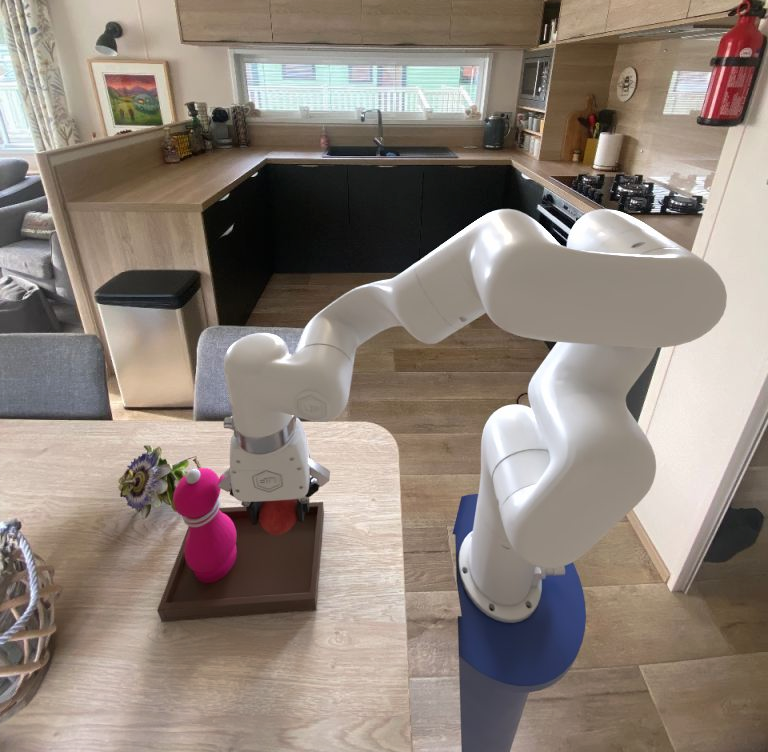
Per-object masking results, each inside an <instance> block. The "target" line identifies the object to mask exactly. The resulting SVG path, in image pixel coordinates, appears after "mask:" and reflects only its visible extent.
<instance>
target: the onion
mask: <svg viewBox="0 0 768 752" xmlns="http://www.w3.org/2000/svg"><path fill="white" fill-rule="evenodd" d="M296 504H297V499H290V500H275V501H261V503H260V506H259V522H260V524H261V525H262V527H263V529H264V530H265V531H267V532H268V533H270V534H275V535H279V534H283V533H285V532H287V531H288V530H290V529H291V527H292V526H293V525H294V524H295V522H296V521H297V518H298V516H297V507H296Z"/></svg>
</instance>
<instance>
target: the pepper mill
mask: <svg viewBox="0 0 768 752" xmlns="http://www.w3.org/2000/svg"><path fill="white" fill-rule="evenodd" d="M219 479H220V476H219V475H218V474H217V472H215V471H214V470H213V469H212V468H208V467H201V468H198V467H197V468H191V469H190V470H189V471H188V472H187V474H186V475H185V476H184V477H183V478H182V479H181V480H180V481H179V483H178V482H177V485H175V487H176V488H175V491H174V497H173V502H174V506H175V509H176V511H177V512H176V511H175V512H176V513H178V514H179V516H181V517H182V520H183V522H184V524H185V525H186V526H188V527H189V532H188V535H187V538H186V542H185V548H184V553H185V559H186V562H187V564H188V566H189V567H190V568H191V569H192V570H193V571H194V574H195V577H196V578H197V579H198V580H199V581H200V582H203V583H213V582H216V581H218V580H220V579H221V578H223V577H224V576H225V575H226V574H227V573H228V572H229V571H230V569H231V568H232V566H233V564H234V562H235V559H236V555H237V549H236V544H235V543H236V535H237V534H236V529H235V526H234V523H233V522H232V520H231V519H230V518H229V517H228V516H227V515H225V514H223V513H222V512H221V511H220V510H219V508H221V497H220V495H221V490H222V489H221V488H219V487H218V486H217V484H218V481H219Z"/></svg>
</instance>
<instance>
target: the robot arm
mask: <svg viewBox="0 0 768 752" xmlns="http://www.w3.org/2000/svg"><path fill="white" fill-rule="evenodd" d="M727 296H728V295H727V290H726V286H725V283H724V282H723V279H722V277H721V276H720V274H719V273H718V272H717V271H716V270H715V269H714V268H713V266H712V265H710V264H709V263H708V262H707V261H705V260H704V259H703V258H701V257H700V256H698V255H696V254H695V253H693V252H692V251H690V250H689V249H688V248H685V247H683V246H682V245H680V244H678V243H677V242H675V241H673V240H671V239H670V238H668V237H666V236H665V235H664V234H663V233H661V232H659V231H658V230H656V229H654V228H653V227H651V226H649V225H648V224H646V223H645V222H643V221H641V220H640V219H637V218H635V217H633V216H631V215H629V214H627V213H624V212H622V211H618V210H614V209H608V208H600V209H599V208H598V209H595V210H591V211H589V212H587V213H585V214H583V215H582V216H581V217H580V218H578V219H577V220H576V222H575V223H574V224H573V226H572V228H571V230H570V231H569V234H568V236H567V241H566V246H565V245H561V244H560V243H559V242H558V241H557V240H556V239H555V237H553V236H552V234H551V233H550V232H549V231H548V230H546V228H544V226H542V224H540V223H539V222H538V221H537V220H536V219H534V218H533V217H531V216H529V215H528V214H527V213H524V212H522V211H520V210H517V209H511V208H501V209H497V210H493V211H491V212H488V213H486V214H485V215H483V216H482V217H480V218H478V219H477V220H475V221H474V222H472V223H471V224H469V225H468V226H466V227H465V228H464V229H462V230H461V231H459V232H458V233H456V234H455V235H454V236H452V237H451V238H449V239H448V240H447V241H445V242H444V243H442V244H440V245H439V246H438V247H437V248H435V249H434V250H432V251H431V252H429V253H428V254H427V255H425V256H424V257H422V258H420V260H418V261H416V262H415V263H413V264H412V265H411V266H409V267H408V268H406V269H405V270H404V271H402V272H400V273H399V274H397V275H396V276H394V277H392V278H389V279H383V280H378V281H374V282H370V283H366V284H363V285H360V286H357V287H354V288H353V289H350V290H349V291H347V292H345V293H344V294H342V295H341V296H339V297H338V298H336V299H335V300H334V301H332V302H331V303H330V304H328V305H327V306H326V307H324V308H323V309H322V310H320V311H319V312H318V313H316V314H315V315H314V316H313V317H312V318H311V319H310V320H309V322H308V323H307V324H306V325H305V327H304V329H303V330H302V333H301V335H300V338H299V340H298V343H297V346H296V347H295V350H294V353H293V354H290V352H289V348H288V346H287V345H288V344H287V343H286V342H285V341H284V340H283V338H281V337H280V336H278V335H276V334H273V333H269V332H257V333H251V334H248V335H245V336H243V337H241V338H239V339H237V340H236V341H234V342H233V343H232V344H231V345H230V346H229V347H228V349H227V350H226V352H225V354H224V357H223V362H222V366H223V373H224V379H225V383H226V390H227V394H228V399H229V403H230V409H231V416H226V417H224V419H223V428H224V429H229V430H232V431H233V434H232V435H231V438H230V443H229V444H230V445H229V468H228V469H227V470H226V471H224V472H223V473H222V474H221V475H220V476H219V481H218V484H217V486H218V487H219V488H221V490H223V491H225V492H229V495H230V496H231V497H233V498H234V499H236V500H237V501H239V502H241V507H246V510H247V515H248V516H249V515H250V518H251V523H252V525H256V524H257V523H258V519H259V506H260V503H261V501H275V500H290V499H297V504H296V507H297V516H298V521H299V522H303V521H304V513H305V512H309V503H310V498H311V497H312V496H313V495H314V494H316V493H317V492H318V491H319V490H320V488H322V487H323V486H325V485H326V484H327V483H329V482H330V477H331V476H330V475H331V471H330V470H329V469H328V468H326V467H325V466H323V465H322V464H320V463H318V462H316V461H315V460H314V459H312V454H311V450H310V445H309V440H308V437H307V434H306V431H305V428H304V426H303V423H302V421H301V420H306V421H310V422H319V423H322V422H330V421H333V420H335V419H337V418H338V417H340V416H341V415H342V414H343V412H344V411H345V409H346V408H347V405H348V402H349V399H350V392H351V385H352V379H353V371H354V364H355V358H356V352H357V348H359V347H360V346H361V345H363V344H365V343H366V342H367V341H368V340H370V339H371V338H373V337H374V336H376V335H378V334H380V333H381V332H383V331H386V330H388V329H391V328H395V327H403V328H404V329H405V330H406V331H407V332H408V334H410V335H411V336H412V337H413V338H414V339H416V340H417V341H419V342H420V343H423V344H425V345H435V344H439V343H440V342H441V341H444V339H446V338H448V337H449V336H451V335H453V334H455V333H456V332H457V331H459V330H460V329H462V328H464V327H465V326H467V325H469V324H471V323H472V322H474V321H475V320H476V319H478V318H480V317H482V316H484V315H487V316H488V317H489V319H490V321H492V323H494V324H495V325H496V326H497V327H498V328H500V329H501V330H503V331H504V332H507V333H509V334H513V335H515V336H518V337H521V338H525V339H532V340H537V341H544V342H554V343H555V344H554V346H553V347H552V349H551V350H550V351H549V353H547V355H546V357H545V358H544V360H543V361H542V363H540V365H539V367H538V368H537V369H536V371H535V372H534V373H533V376H532V377H531V379H530V381H529V383H528V387H527V397H528V403H529V405H530V407H529V406H527V405H524V404H515V403H514V404H508V405H504V406H501V407H500V408H498V409H497V410H495V411H494V412H493V413H492V414H491V415H490V416H489V418H488V419H487V420H486V423H485V424H484V427H483V429H482V430H483V431H482V434H481V441H480V479H479V489H478V493H477V494H478V499H477V506H476V513H475V519H474V526H473V531H472V532H470V533H469V534H468V535H467V536H466V538H465V539H464V541H463V543H462V545H461V548H460V552H459V574H460V578H461V581H462V584H463V587H464V589H465V591H466V593H467V595H468V596H469V597H470V599H471V600H472V602H473V603H474V604H475V605H476V606H477V607H478V608H479V609H480V610H481V611H482V612H483V613H485V614H486V615H487V616H489V617H491V618H493V619H495V620H498V621H501V622H505V623H515V622H520V621H523V620H524V619H526V618H528V617H529V616H530V615H531V614H532V613H533V612H534V611H535V609H536V607H537V606H538V603H539V600H540V596H541V591H542V580H541V579H545V578H546V575H553V576H555V575H565V567H564V566H565V565H568V564H570V563H572V562H573V563H574V562H576V561H577V560H580V559H581V558H583V557H584V556H585V555H586V554H587V553H588V552H590V551H591V550H592V549H594V547H595V546H596V545H598V543H599V542H600V541H602V539H603V538H604V537H605V536H607V535H608V533H609V532H611V531H612V530H613V529H614V528H615V527H616V526H617V525H618V524H619V523H620V522H621V521H623V519H624V518H625V517H626V516H627V515H628V514H630V513H631V511H632V510H634V508H635V507H636V506H637V505H639V504H640V503H641V501H643V499H644V498H645V497H646V496H647V494H648V493H649V491H650V490H651V488H652V486H653V484H654V481H655V479H656V478H655V477H656V471H657V460H656V455H655V452H654V449H653V445H652V444H651V442H650V440H649V438H648V437H647V435H646V434H645V432H644V430H643V429H642V428H641V426H640V424H639V423H638V422H637V420H636V419H635V418H634V416H633V414H632V413H631V411H630V410H629V408H628V406H627V395H628V394H629V392H630V390H631V389H632V388H633V386H634V385H635V384H636V382H637V381H638V379H639V378H640V377H641V375H642V374H643V373H644V371H645V370H646V369H647V367H648V366H649V365H650V363H651V362H652V360H653V358H654V357H655V354H656V352H657V350H658V348H670V347H677V346H680V345H684V344H687V343H691V342H693V341H696V340H698V339H700V338H702V337H703V336H705V335H706V334H707V333H709V332H710V331H711V330H713V329H714V327H716V326H717V325H718V324H719V322H720V320H722V318H723V316H724V315H725V314H724V313H725V311H726V308H727V301H728V300H727ZM463 572H465V573H466V574H464V573H463ZM527 606H528V607H529V608H528V607H527ZM490 609H492V610H493V611H491V610H490Z"/></svg>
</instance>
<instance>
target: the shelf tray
mask: <svg viewBox="0 0 768 752" xmlns="http://www.w3.org/2000/svg"><path fill="white" fill-rule="evenodd" d="M324 509H325V508H324V501H314V502H312V501H311V502H309V512H305V513H304V521H303V522H299V521H298V518H297V521H296V522H295V524H294V525H293V526H292V527H291V529H290V530H288V531H287V532H285V533H283V534H279V535H275V534H270V533H268V532H267V531H265V530H264V529H263V527H262V525H261V524H260V522H259V519H258V523H257V524H256V525H252V523H251V518H250V515H249V516H248V515H247V510H246V507H244V506H230V507H220V508H219V510H220V511H221V512H222V513H223V514H225V515H227V516H228V517H229V518H230V519H231V520H232V522H233V523H234V526H235V529H236V534H237V535H236V543H235V544H236V549H237V555H236V559H235V562H234V564H233V566H232V568H231V569H230V571H229V572H228V573H227V574H226V575H225V576H224V577H223V578H221V579H220V580H218V581H216V582H213V583H203V582H200V581H199V580H198V579H197V578H196V577H195V574H194V571H193V570H192V569H191V568H190V567H189V566H188V564H187V562H186V559H185V553H184V548H185V542H186V538H187V535H188V532H189V526H188V527H187V530H186V532H185V535H184V536H183V537H184V538H183V540H182V543H181V545H180V548H179V551H178V553H177V557H176V559H175V561H174V564H173V567H172V570H171V572H170V574H169V578H168V580H167V583H166V586H165V588H164V591H163V592H162V593H163V594H162V596H161V599H160V601H159V604H158V606H157V609H156V612H157V614H158V616H159V618H160V622H161V623H166V622H168V623H169V622H180V621H193V620H194V621H195V620H207V619H209V620H210V619H219V618H233V617H246V616H259V615H273V614H287V613H298V612H299V613H301V612H313V611H317V607H318V596H319V582H320V567H321V557H322V555H321V554H322V543H323V532H324V531H323V529H324V517H325V510H324Z"/></svg>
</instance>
